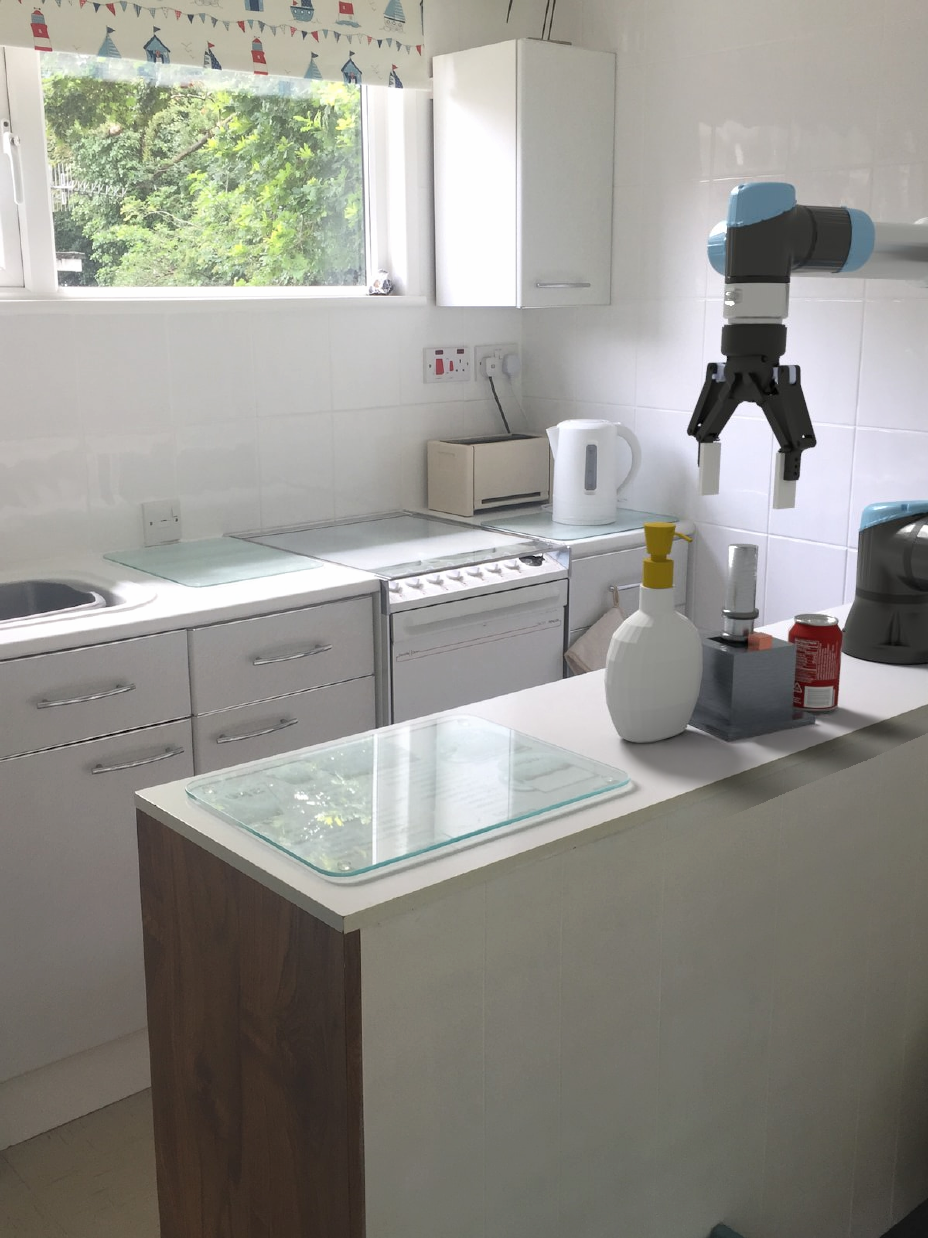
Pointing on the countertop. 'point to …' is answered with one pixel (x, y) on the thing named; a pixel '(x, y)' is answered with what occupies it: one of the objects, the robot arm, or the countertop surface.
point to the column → (740, 595)
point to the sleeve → (747, 688)
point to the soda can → (816, 662)
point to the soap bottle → (654, 653)
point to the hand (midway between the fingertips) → (744, 501)
